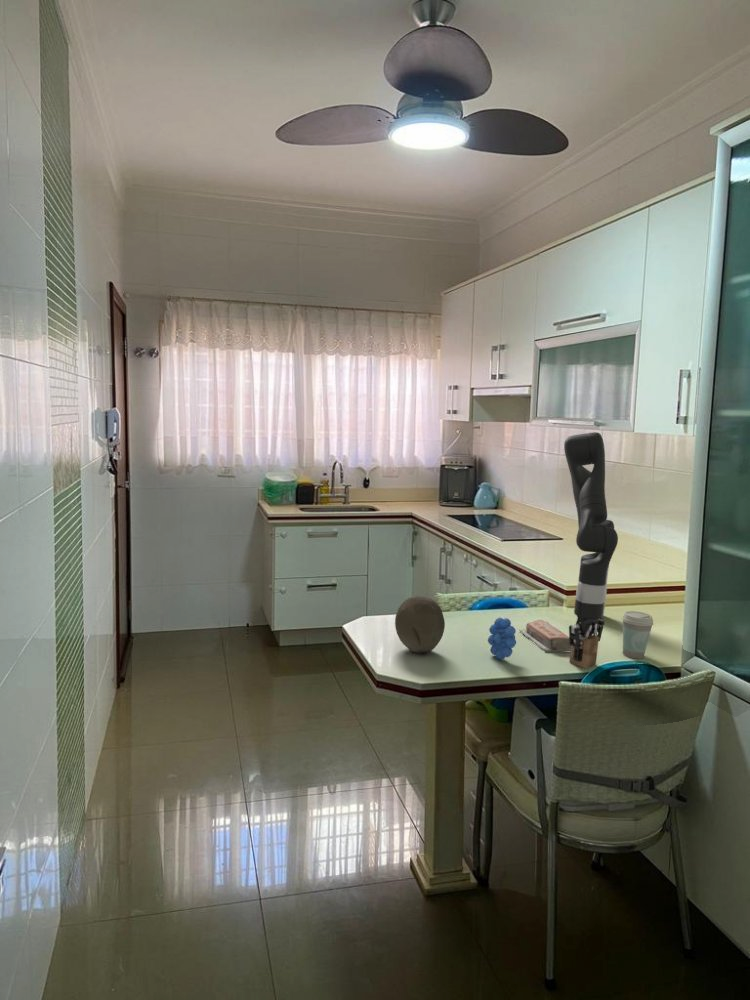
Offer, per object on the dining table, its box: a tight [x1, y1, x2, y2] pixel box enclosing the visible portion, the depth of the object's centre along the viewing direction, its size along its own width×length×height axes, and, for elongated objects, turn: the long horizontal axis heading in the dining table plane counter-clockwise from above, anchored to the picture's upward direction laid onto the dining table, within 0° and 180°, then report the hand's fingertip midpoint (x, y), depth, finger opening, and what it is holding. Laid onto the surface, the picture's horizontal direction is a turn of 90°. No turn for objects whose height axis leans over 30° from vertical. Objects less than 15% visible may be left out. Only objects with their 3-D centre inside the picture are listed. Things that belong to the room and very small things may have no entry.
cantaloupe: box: [394, 595, 446, 654], centre depth 200 cm, size 14×14×15 cm
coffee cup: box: [621, 610, 654, 660], centre depth 209 cm, size 9×8×12 cm
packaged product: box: [518, 619, 571, 653], centre depth 216 cm, size 18×5×10 cm
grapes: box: [487, 617, 517, 661], centre depth 198 cm, size 12×7×12 cm, turn 23°
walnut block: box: [569, 635, 600, 669], centre depth 199 cm, size 5×5×8 cm
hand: (583, 658), depth 199 cm, fingers closed on walnut block, 5 cm apart
